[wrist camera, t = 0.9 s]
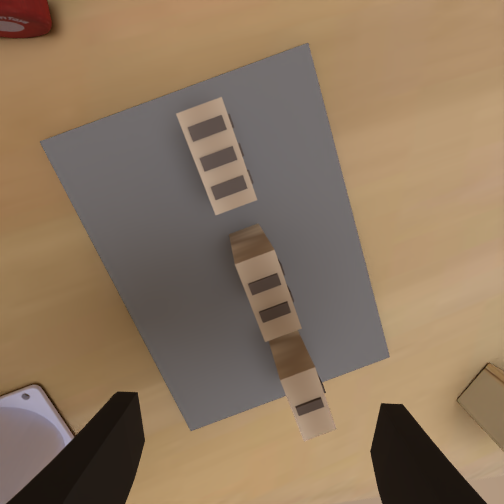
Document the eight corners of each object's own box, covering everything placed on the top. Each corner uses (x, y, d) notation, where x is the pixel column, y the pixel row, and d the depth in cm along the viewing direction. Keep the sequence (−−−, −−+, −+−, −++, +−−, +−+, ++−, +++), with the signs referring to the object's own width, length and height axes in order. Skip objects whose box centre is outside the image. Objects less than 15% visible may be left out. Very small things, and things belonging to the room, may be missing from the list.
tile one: (283, 375, 26) (304, 443, 20) (264, 325, 24) (280, 381, 18) (310, 365, 26) (339, 430, 20) (292, 314, 24) (318, 367, 18)
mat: (191, 425, 27) (190, 431, 26) (44, 141, 20) (39, 141, 19) (385, 352, 27) (389, 356, 26) (305, 45, 20) (308, 42, 19)
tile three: (214, 197, 21) (215, 216, 15) (186, 123, 20) (175, 113, 14) (247, 185, 21) (260, 199, 15) (221, 110, 20) (225, 95, 14)
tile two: (252, 294, 23) (265, 343, 18) (228, 234, 22) (235, 265, 16) (281, 283, 23) (305, 328, 18) (260, 222, 22) (278, 249, 16)
